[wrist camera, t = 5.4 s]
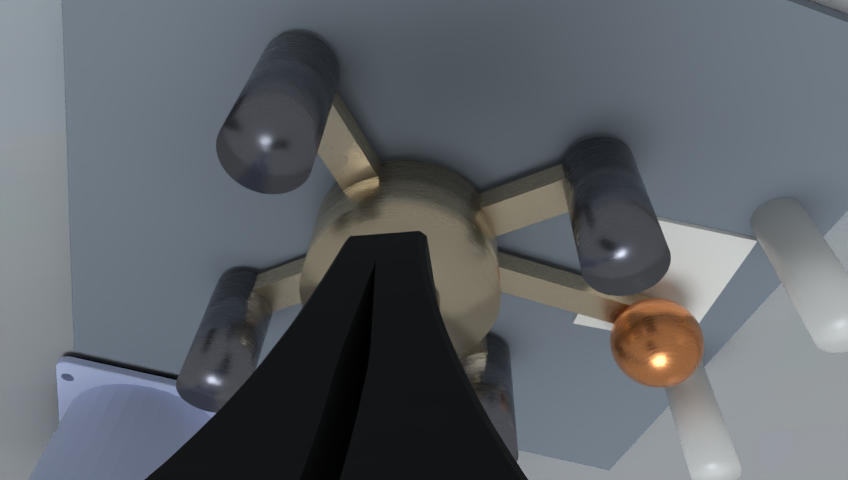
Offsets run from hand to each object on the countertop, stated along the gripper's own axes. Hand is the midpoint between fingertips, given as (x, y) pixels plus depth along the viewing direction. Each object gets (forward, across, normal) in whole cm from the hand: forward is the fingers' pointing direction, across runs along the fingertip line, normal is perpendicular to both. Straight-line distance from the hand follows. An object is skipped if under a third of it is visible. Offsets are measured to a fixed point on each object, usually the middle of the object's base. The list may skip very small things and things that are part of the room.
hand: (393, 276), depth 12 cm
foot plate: (+10, 0, +6) cm, 12 cm away
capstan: (+8, +1, +6) cm, 10 cm away
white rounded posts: (+9, -8, +9) cm, 15 cm away
